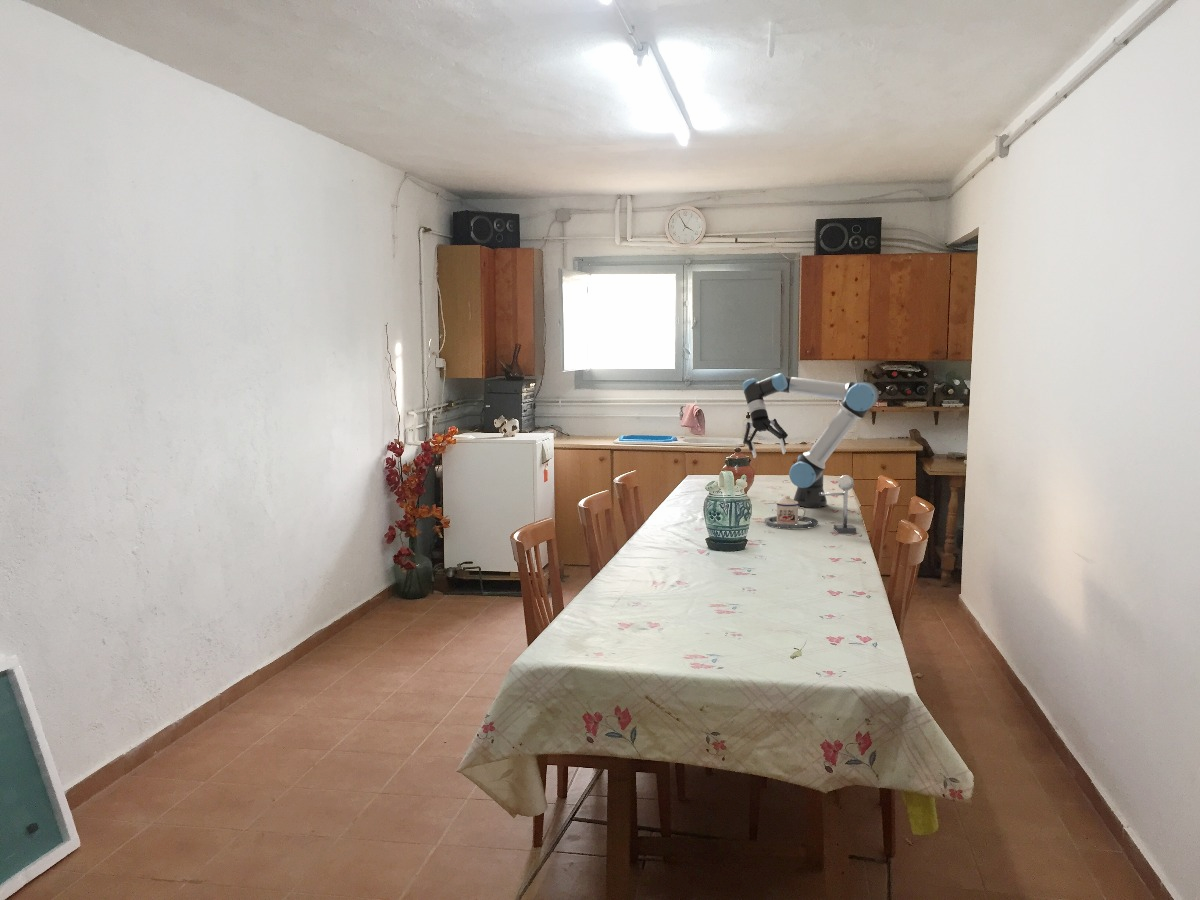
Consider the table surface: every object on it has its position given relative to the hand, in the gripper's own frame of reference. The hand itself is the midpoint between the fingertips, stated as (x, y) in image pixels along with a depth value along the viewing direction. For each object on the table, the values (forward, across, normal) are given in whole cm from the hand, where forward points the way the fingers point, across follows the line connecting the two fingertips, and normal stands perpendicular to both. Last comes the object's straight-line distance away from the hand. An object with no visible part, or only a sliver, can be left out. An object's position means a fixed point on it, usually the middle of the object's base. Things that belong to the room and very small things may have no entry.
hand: (769, 455), depth 398 cm
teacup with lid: (+36, +3, +11) cm, 38 cm away
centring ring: (+35, +3, +11) cm, 37 cm away
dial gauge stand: (+45, -8, +27) cm, 53 cm away
